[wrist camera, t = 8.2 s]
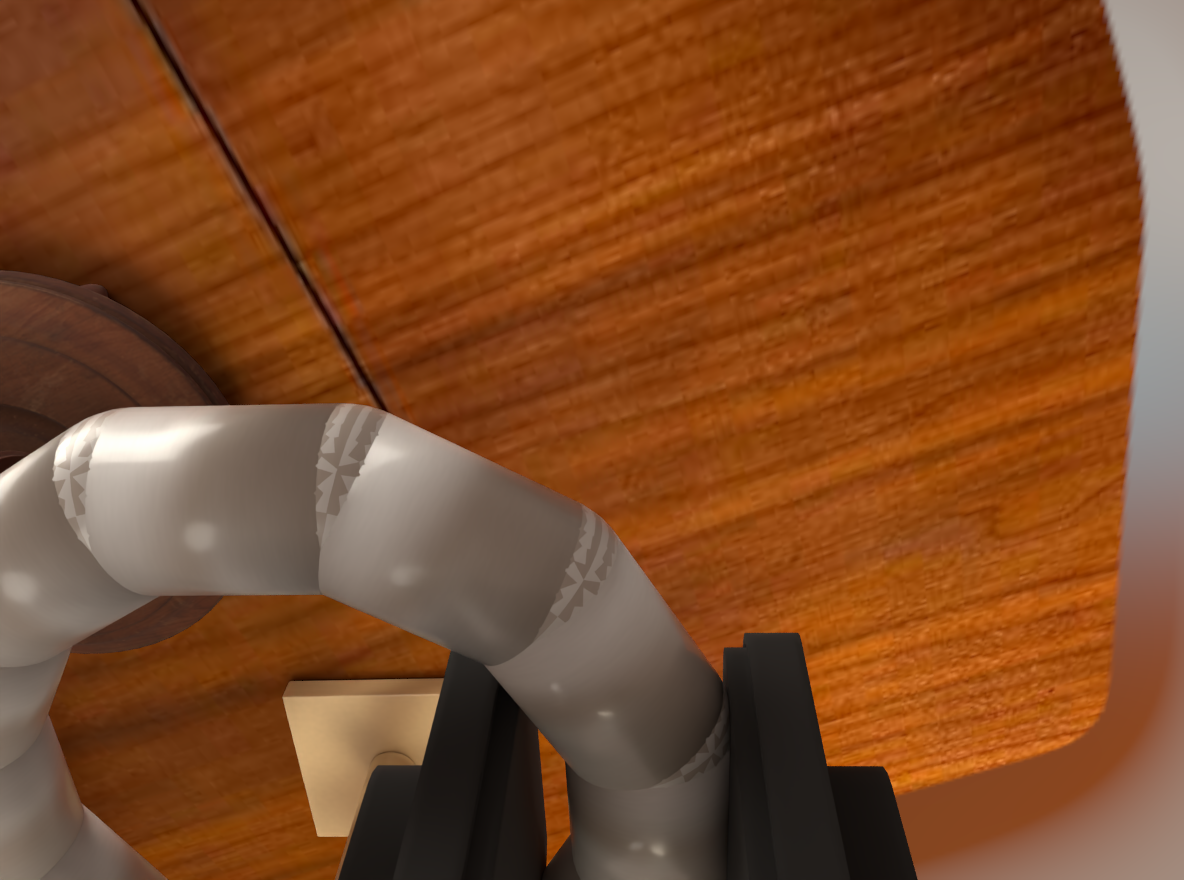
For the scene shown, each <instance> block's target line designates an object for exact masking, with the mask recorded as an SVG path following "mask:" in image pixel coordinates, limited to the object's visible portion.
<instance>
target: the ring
mask: <svg viewBox="0 0 1184 880" xmlns="http://www.w3.org/2000/svg"><path fill="white" fill-rule="evenodd" d="M198 595H325V596H327V597H330V598H332V599H334V600H337V601H339V602H341V603H343V604H346V605H348V606H350V607H353V608H355V609H357V610H360V611H362V612H364V613H367V614H369V615H371V616H374V617H376V618H378V619H380V620H383V621H385V622H387V623H390V624H392V625H394V626H397V627H399V628H401V629H404V630H406V631H408V632H411V633H413V634H415V635H417V636H420V637H422V638H424V639H427V640H429V641H431V642H434V643H436V644H438V645H441V646H443V647H445V648H448V649H450V650H452V651H454V652H457V653H459V654H461V655H464V656H466V657H468V658H471V659H473V660H475V661H478V662H480V663H482V664H484V665H485V667H486V668H487V669H488V670H489V671H490V672H491V674H492V675H493V676H494V677H495V678H496V680H497V681H498V682H499V683H500V684H501V685H502V687H503V688H504V689H505V690H506V691H507V693H508V694H509V695H510V696H511V697H512V698H513V700H514V701H515V702H516V703H517V704H518V706H519V707H520V708H521V709H522V710H523V712H524V713H525V714H526V715H527V716H528V717H529V719H530V720H531V721H532V722H533V723H534V725H535V726H536V727H537V728H538V729H539V730H540V732H541V733H542V734H543V735H544V736H545V738H546V739H547V740H548V741H549V742H550V743H551V745H552V746H553V747H554V748H555V749H556V751H557V752H558V753H559V754H560V755H561V756H562V758H563V759H564V760H565V764H566V778H567V791H568V805H569V819H570V832H571V834H570V836H569V837H568V839H567V840H566V841H565V843H564V844H563V845H562V847H561V848H560V849H559V851H558V852H557V853H556V855H555V856H554V857H553V859H552V860H551V862H550V863H549V864H548V866H547V867H546V868H545V870H544V873H543V878H542V880H726V879H727V841H728V802H729V764H730V720H729V702H728V694H727V690H726V687H725V686H724V684H723V682H722V680H721V678H720V677H719V675H718V674H717V672H716V671H715V670H714V668H713V667H712V665H711V664H710V663H709V661H708V660H707V659H706V657H705V656H704V654H703V653H702V652H701V650H700V649H699V648H698V646H697V645H696V643H695V642H694V641H693V639H692V638H691V637H690V635H689V634H688V632H687V631H686V630H685V628H684V627H683V626H682V624H681V623H680V621H679V620H678V619H677V617H676V616H675V615H674V613H673V612H672V610H671V609H670V608H669V606H668V605H667V604H666V602H665V601H664V599H663V598H662V597H661V595H660V594H659V593H658V591H657V590H656V588H655V587H654V586H653V584H652V583H651V582H650V580H649V579H648V577H647V576H646V575H645V573H644V572H643V571H642V569H641V568H640V566H639V565H638V564H637V562H636V561H635V560H634V558H633V557H632V555H631V554H630V553H629V551H628V550H627V549H626V547H625V546H624V544H623V543H622V542H621V540H620V539H619V538H618V536H617V535H616V533H615V532H614V531H613V529H612V528H611V527H610V526H609V525H608V524H607V523H606V522H605V521H604V520H603V518H601V517H600V516H599V515H597V514H596V513H595V512H593V511H592V510H590V509H589V508H587V507H586V506H584V505H583V504H580V503H579V502H577V501H575V500H572V499H570V498H568V497H566V496H564V495H562V494H560V493H558V492H555V491H553V490H551V489H549V488H547V487H545V486H543V485H541V484H538V483H536V482H534V481H532V480H530V479H528V478H526V477H524V476H522V475H519V474H517V473H515V472H513V471H511V470H509V469H507V468H505V467H502V466H500V465H498V464H496V463H494V462H492V461H490V460H488V459H485V458H483V457H481V456H479V455H477V454H475V453H473V452H471V451H468V450H466V449H464V448H462V447H460V446H458V445H456V444H454V443H451V442H449V441H447V440H445V439H443V438H441V437H439V436H437V435H434V434H432V433H430V432H428V431H426V430H424V429H422V428H420V427H418V426H415V425H413V424H411V423H409V422H407V421H405V420H403V419H401V418H398V417H396V416H394V415H392V414H390V413H387V412H385V411H383V410H380V409H376V408H373V407H370V406H365V405H357V404H346V403H335V404H281V405H227V406H173V407H129V408H119V409H113V410H109V411H106V412H102V413H99V414H96V415H93V416H91V417H88V418H86V419H84V420H83V421H81V422H79V423H77V424H75V425H74V426H72V427H71V428H69V429H68V430H66V431H65V432H63V433H61V434H60V435H58V436H57V437H55V438H54V439H52V440H51V441H49V442H48V443H46V444H45V445H43V446H42V447H40V448H39V449H37V450H36V451H34V452H33V453H31V454H29V455H28V456H26V457H25V458H23V459H22V460H20V461H19V462H17V463H16V464H14V465H13V466H11V467H10V468H8V469H7V470H5V471H4V472H2V473H1V474H0V880H168V879H167V878H166V877H165V876H164V875H163V874H161V873H160V872H159V871H158V870H157V869H156V868H155V867H153V866H152V865H151V864H150V863H149V862H148V861H147V860H145V859H144V858H143V857H142V856H141V855H140V854H139V853H138V852H136V851H135V850H134V849H133V848H132V847H131V846H130V845H128V844H127V843H126V842H125V841H124V840H123V839H122V838H121V837H119V836H118V835H117V834H116V833H115V832H114V831H113V830H111V829H110V828H109V827H108V826H107V825H106V824H105V823H103V822H102V821H101V820H100V819H99V818H98V817H97V816H96V815H94V814H93V813H92V812H91V811H90V810H89V809H88V808H86V807H85V806H84V805H83V804H82V803H81V801H80V798H79V795H78V793H77V790H76V787H75V784H74V782H73V779H72V776H71V774H70V771H69V768H68V766H67V763H66V760H65V757H64V755H63V752H62V749H61V747H60V744H59V741H58V738H57V736H56V733H55V730H54V728H53V725H52V722H51V720H50V717H49V714H48V713H49V710H50V707H51V704H52V702H53V699H54V696H55V693H56V690H57V688H58V685H59V682H60V679H61V676H62V674H63V671H64V668H65V665H66V663H67V660H68V657H69V654H70V651H71V649H72V646H73V645H75V644H77V643H78V642H80V641H82V640H84V639H85V638H87V637H89V636H91V635H92V634H94V633H96V632H98V631H99V630H101V629H103V628H105V627H106V626H108V625H110V624H112V623H113V622H115V621H117V620H119V619H120V618H122V617H124V616H126V615H127V614H129V613H131V612H133V611H134V610H136V609H138V608H140V607H141V606H143V605H145V604H147V603H148V602H150V601H152V600H154V599H155V598H157V597H159V596H198Z"/></svg>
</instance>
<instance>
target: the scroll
mask: <svg viewBox="0 0 1184 880" xmlns="http://www.w3.org/2000/svg"><path fill="white" fill-rule="evenodd" d="M227 405H229V404H228V402H227V400H226V399H225V397H224V396H223V394H222V393H221V392H220V390H219V389H218V387H217V386H216V384H215V383H214V382H213V381H212V379H211V378H210V377H209V376H208V375H207V373H206V372H205V371H204V370H203V369H202V367H201V366H200V365H199V364H198V363H197V362H196V361H195V360H194V359H193V358H192V357H191V356H190V355H189V354H188V353H187V352H186V351H185V350H184V349H183V348H182V347H181V346H179V345H178V344H177V343H176V342H175V341H174V340H172V339H171V338H170V337H169V336H168V335H167V334H165V333H164V332H163V331H161V330H160V329H158V328H157V327H156V326H154V325H153V324H152V323H150V322H149V321H148V320H146V319H144V318H143V317H141V316H140V315H138V314H136V313H135V312H133V311H132V310H130V309H128V308H127V307H125V306H123V305H121V304H119V303H117V302H115V301H113V300H111V299H109V298H108V292H107V290H106V289H105V288H104V287H103V286H101V285H95V284H87V285H82V286H78V285H75V284H72V283H69V282H66V281H63V280H59V279H55V278H50V277H46V276H42V275H37V274H31V273H24V272H17V271H2V270H0V474H1V473H2V472H4V471H5V470H7V469H8V468H10V467H11V466H13V465H14V464H16V463H17V462H19V461H20V460H22V459H23V458H25V457H26V456H28V455H29V454H31V453H33V452H34V451H36V450H37V449H39V448H40V447H42V446H43V445H45V444H46V443H48V442H49V441H51V440H52V439H54V438H55V437H57V436H58V435H60V434H61V433H63V432H65V431H66V430H68V429H69V428H71V427H72V426H74V425H75V424H77V423H79V422H81V421H83V420H84V419H86V418H88V417H91V416H93V415H96V414H99V413H102V412H106V411H109V410H113V409H119V408H129V407H173V406H227ZM223 596H224V595H198V596H159V597H157V598H155V599H154V600H152V601H150V602H148V603H147V604H145V605H143V606H141V607H140V608H138V609H136V610H134V611H133V612H131V613H129V614H127V615H126V616H124V617H122V618H120V619H119V620H117V621H115V622H113V623H112V624H110V625H108V626H106V627H105V628H103V629H101V630H99V631H98V632H96V633H94V634H92V635H91V636H89V637H87V638H85V639H84V640H82V641H80V642H78V643H77V644H75V645H73V646H72V649H71V651H70V653H83V654H89V653H110V652H121V651H126V650H131V649H137V648H141V647H144V646H148V645H151V644H155V643H157V642H160V641H162V640H165V639H167V638H170V637H172V636H174V635H176V634H178V633H180V632H182V631H183V630H185V629H187V628H188V627H190V626H191V625H193V624H194V623H196V622H197V621H199V620H200V619H201V618H202V617H203V616H205V615H206V614H207V613H208V612H209V611H210V610H211V609H212V608H213V607H214V606H215V605H216V604H217V603H218V602H219V601H220V600H221V598H222V597H223Z"/></svg>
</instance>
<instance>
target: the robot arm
mask: <svg viewBox="0 0 1184 880" xmlns="http://www.w3.org/2000/svg"><path fill="white" fill-rule="evenodd" d="M723 684H724V686H725V687H726V690H727V694H728V702H729V720H730V764H729V802H728V841H727V879H726V880H917V876H916V872H915V869H914V865H913V861H912V858H911V855H910V851H909V847H908V843H907V839H906V836H905V832H904V829H903V825H902V821H901V817H900V814H899V810H898V807H897V803H896V800H895V795H894V792H893V788H892V785H891V782H890V779H889V776H888V773H887V772H886V770H885V769H884V767H878V766H827V764H826V759H825V754H824V749H823V744H822V739H821V735H820V730H819V725H818V720H817V715H816V710H815V705H814V701H813V696H812V691H811V686H810V681H809V676H808V671H807V667H806V662H805V657H804V652H803V647H802V642H801V639H800V635H799V634H798V633H745V634H744V640H743V648H724V655H723ZM546 859H547V833H546V820H545V809H544V797H543V785H542V774H541V762H540V750H539V739H538V728H537V727H536V726H535V725H534V723H533V722H532V721H531V720H530V719H529V717H528V716H527V715H526V714H525V713H524V712H523V710H522V709H521V708H520V707H519V706H518V704H517V703H516V702H515V701H514V700H513V698H512V697H511V696H510V695H509V694H508V693H507V691H506V690H505V689H504V688H503V687H502V685H501V684H500V683H499V682H498V681H497V680H496V678H495V677H494V676H493V675H492V674H491V672H490V671H489V670H488V669H487V668H486V667H485V665H484V664H482V663H480V662H478V661H475V660H473V659H471V658H468V657H466V656H464V655H461V654H459V653H457V652H454V651H452V650H451V652H450V656H449V660H448V664H447V668H446V672H445V676H444V680H443V684H442V688H441V692H440V696H439V700H438V703H437V707H436V711H435V715H434V719H433V723H432V727H431V731H430V735H429V739H428V743H427V747H426V751H425V755H424V759H423V762H422V765H378V766H377V767H376V768H375V769H374V771H373V772H372V774H371V777H370V779H369V782H368V784H367V787H366V791H365V794H364V797H363V800H362V803H361V807H360V810H359V813H358V816H357V820H356V823H355V826H354V829H353V833H352V836H351V839H350V842H349V845H348V849H347V852H346V855H345V858H344V862H343V865H342V868H341V871H340V875H339V878H338V880H542V878H543V873H544V870H545V868H546Z"/></svg>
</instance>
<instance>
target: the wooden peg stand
mask: <svg viewBox="0 0 1184 880" xmlns="http://www.w3.org/2000/svg"><path fill="white" fill-rule="evenodd" d="M443 680H444V678H436V679H381V680H325V681H290V682H289V683H288V685H287V688H286V690H285V692H284V695H283V697H282V698H283V702H284V706H285V710H286V713H287V717H288V721H289V725H290V729H291V733H292V737H293V741H294V745H295V749H296V753H297V757H298V761H299V765H300V769H301V773H302V776H303V780H304V784H305V788H306V792H307V796H308V800H309V804H310V808H311V812H312V816H313V820H314V824H315V828H316V832H317V835H318V837H343V836H348V839H347V842H346V845H345V849H344V852H343V855H342V858H341V862H340V865H339V868H338V871H337V875H336V878H335V880H338V878H339V875H340V871H341V868H342V865H343V862H344V858H345V855H346V852H347V849H348V845H349V842H350V839H351V836H352V833H353V829H354V826H355V823H356V820H357V816H358V813H359V810H360V807H361V803H362V800H363V797H364V794H365V791H366V787H367V784H368V782H369V779H370V777H371V774H372V772H373V771H374V769H375V768H376V767H377V766H378V765H422V762H423V759H424V755H425V751H426V747H427V743H428V739H429V735H430V731H431V727H432V723H433V719H434V715H435V711H436V707H437V703H438V700H439V696H440V692H441V688H442V684H443Z"/></svg>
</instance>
